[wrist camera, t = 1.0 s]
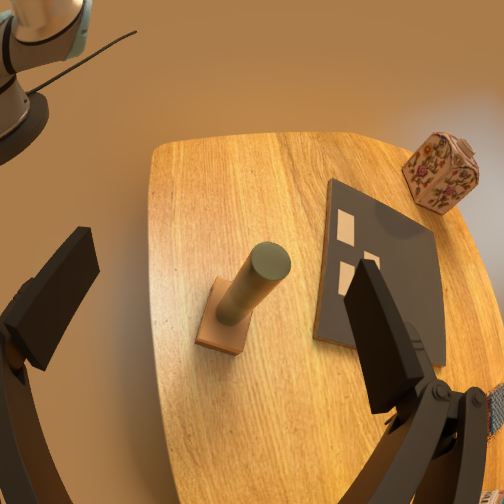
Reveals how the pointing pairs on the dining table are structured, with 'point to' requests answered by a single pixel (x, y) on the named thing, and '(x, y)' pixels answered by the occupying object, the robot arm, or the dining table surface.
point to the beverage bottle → (492, 497)
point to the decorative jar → (441, 172)
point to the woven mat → (495, 409)
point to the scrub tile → (389, 263)
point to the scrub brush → (241, 298)
